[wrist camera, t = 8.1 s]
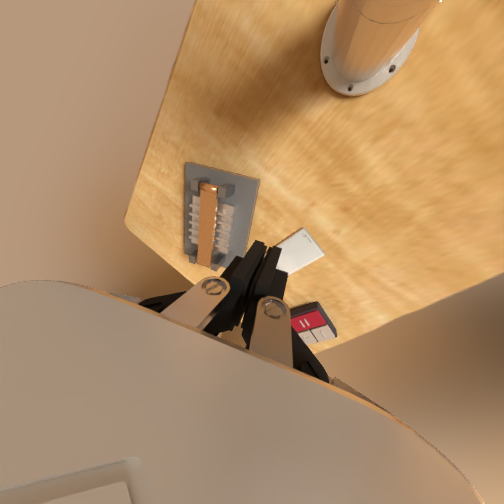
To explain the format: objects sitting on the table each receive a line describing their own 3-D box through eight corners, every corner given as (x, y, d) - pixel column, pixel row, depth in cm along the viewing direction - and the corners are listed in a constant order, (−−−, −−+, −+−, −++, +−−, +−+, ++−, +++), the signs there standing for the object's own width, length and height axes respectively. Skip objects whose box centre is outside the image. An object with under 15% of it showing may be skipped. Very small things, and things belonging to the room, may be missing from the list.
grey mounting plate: (190, 162, 43) (185, 162, 41) (260, 179, 40) (258, 180, 38) (188, 250, 55) (184, 253, 53) (242, 268, 52) (240, 272, 50)
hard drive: (303, 228, 41) (262, 256, 47) (325, 255, 42) (282, 279, 48) (304, 225, 42) (264, 253, 48) (325, 252, 44) (283, 276, 50)
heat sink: (199, 175, 41) (185, 177, 37) (240, 186, 40) (231, 189, 35) (195, 251, 51) (184, 260, 47) (229, 262, 50) (221, 272, 45)
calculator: (338, 339, 49) (288, 351, 55) (335, 327, 53) (289, 339, 59) (318, 309, 47) (269, 325, 53) (317, 298, 50) (271, 314, 57)
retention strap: (203, 181, 38) (199, 182, 37) (219, 185, 37) (216, 186, 36) (199, 261, 48) (196, 264, 46) (212, 265, 47) (209, 268, 46)
